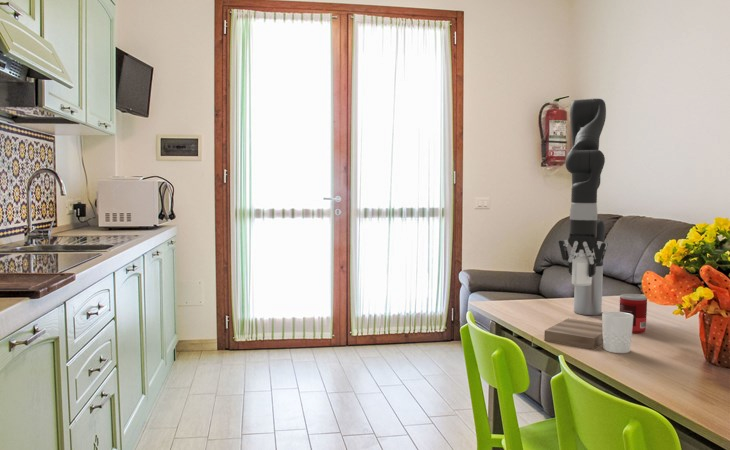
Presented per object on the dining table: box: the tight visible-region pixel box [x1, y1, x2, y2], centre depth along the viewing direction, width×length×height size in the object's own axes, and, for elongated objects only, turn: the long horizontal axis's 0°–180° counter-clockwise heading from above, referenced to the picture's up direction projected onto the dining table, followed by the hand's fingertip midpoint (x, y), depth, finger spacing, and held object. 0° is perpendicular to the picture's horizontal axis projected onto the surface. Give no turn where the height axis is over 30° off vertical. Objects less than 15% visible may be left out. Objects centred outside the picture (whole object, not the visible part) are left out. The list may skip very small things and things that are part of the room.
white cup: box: [601, 310, 633, 354], centre depth 157 cm, size 8×8×10 cm
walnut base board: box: [543, 317, 603, 350], centre depth 170 cm, size 20×14×3 cm
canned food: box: [619, 293, 648, 334], centre depth 178 cm, size 8×8×11 cm
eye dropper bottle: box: [571, 250, 592, 287], centre depth 169 cm, size 4×6×12 cm
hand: (581, 275), depth 169 cm, fingers closed on eye dropper bottle, 4 cm apart
